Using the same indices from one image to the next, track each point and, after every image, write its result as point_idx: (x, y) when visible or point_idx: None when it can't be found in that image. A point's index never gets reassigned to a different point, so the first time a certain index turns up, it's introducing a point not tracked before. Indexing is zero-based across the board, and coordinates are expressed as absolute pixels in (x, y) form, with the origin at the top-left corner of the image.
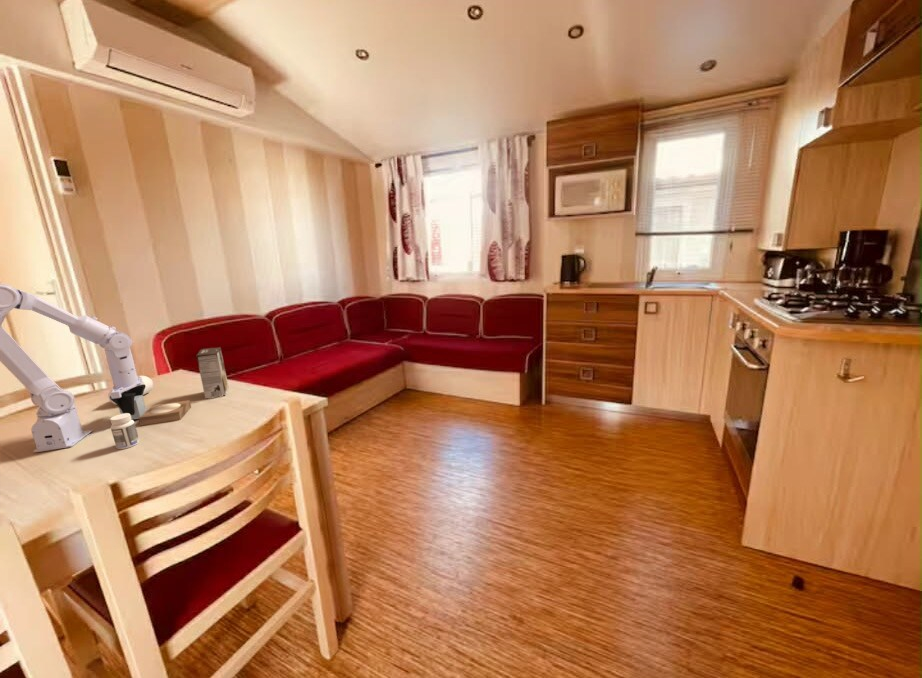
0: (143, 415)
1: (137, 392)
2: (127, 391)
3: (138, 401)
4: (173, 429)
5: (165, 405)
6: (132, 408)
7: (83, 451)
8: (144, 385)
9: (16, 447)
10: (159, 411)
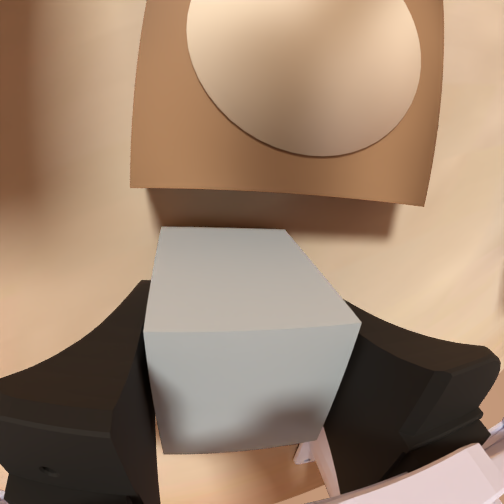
0: (395, 188)
1: (136, 411)
2: (156, 493)
3: (293, 304)
4: (495, 36)
5: (221, 48)
6: (350, 303)
7: (485, 314)
8: (25, 419)
9: (310, 485)
10: (381, 77)
